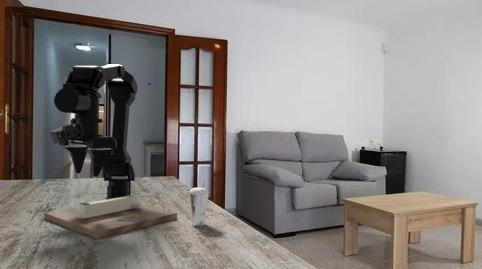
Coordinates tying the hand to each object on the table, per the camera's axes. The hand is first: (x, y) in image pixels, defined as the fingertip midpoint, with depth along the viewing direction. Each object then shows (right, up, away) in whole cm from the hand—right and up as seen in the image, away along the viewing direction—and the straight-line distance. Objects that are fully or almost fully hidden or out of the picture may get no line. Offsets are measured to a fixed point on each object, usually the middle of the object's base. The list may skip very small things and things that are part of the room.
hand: (86, 174), depth 89 cm
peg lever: (+7, -9, -1) cm, 12 cm away
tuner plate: (+7, -11, -1) cm, 13 cm away
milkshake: (+30, -12, -5) cm, 32 cm away
